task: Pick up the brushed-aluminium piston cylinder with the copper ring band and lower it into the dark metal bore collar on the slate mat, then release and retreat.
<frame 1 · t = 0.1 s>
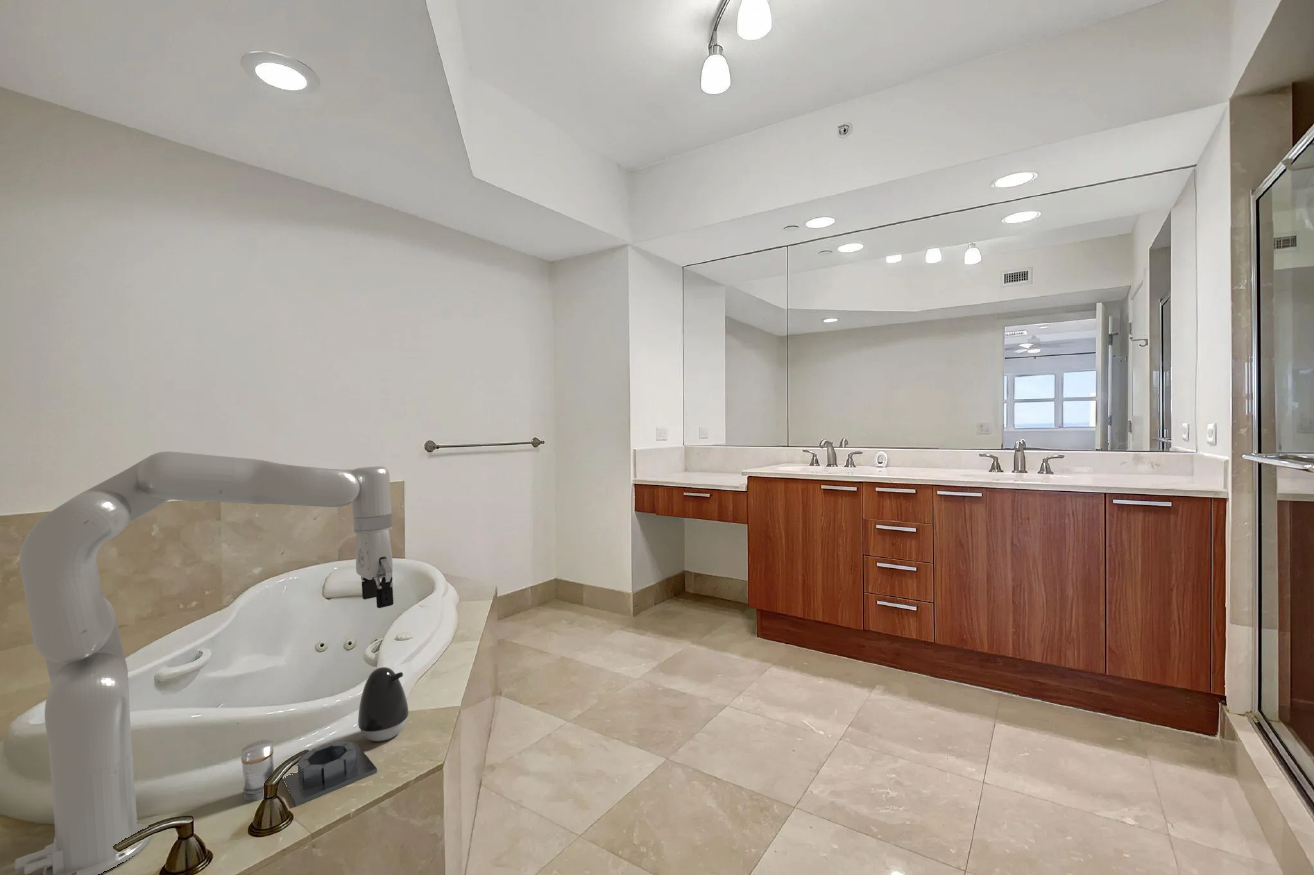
hand: (377, 602, 124), 31 cm above the worktop, fingers open, 9 cm apart
bore block: (328, 773, 115), on the worktop
pump dispenser: (385, 736, 129), on the worktop
piston: (260, 793, 109), on the worktop
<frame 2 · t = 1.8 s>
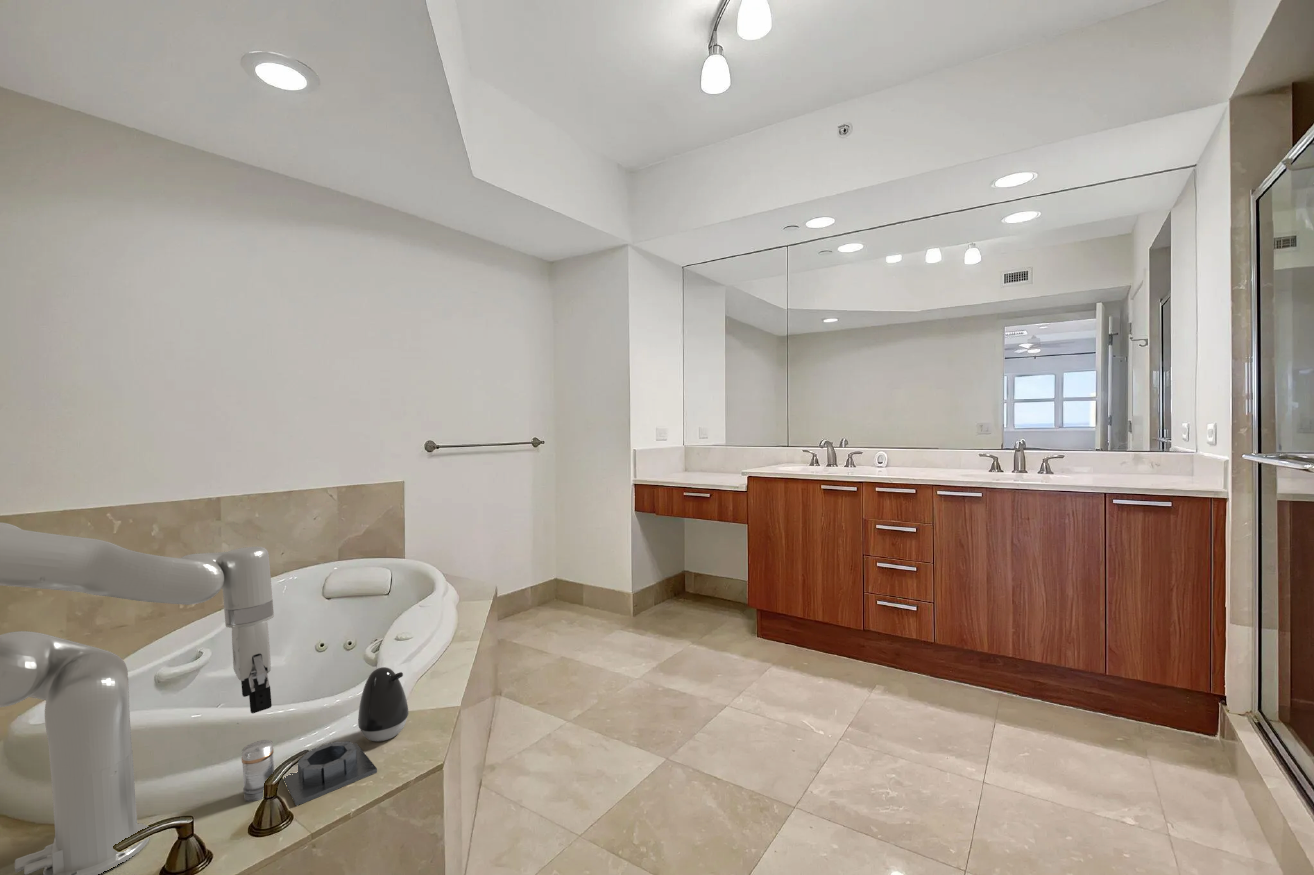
hand: (256, 701, 109), 17 cm above the worktop, fingers open, 9 cm apart
nothing on the worktop moved.
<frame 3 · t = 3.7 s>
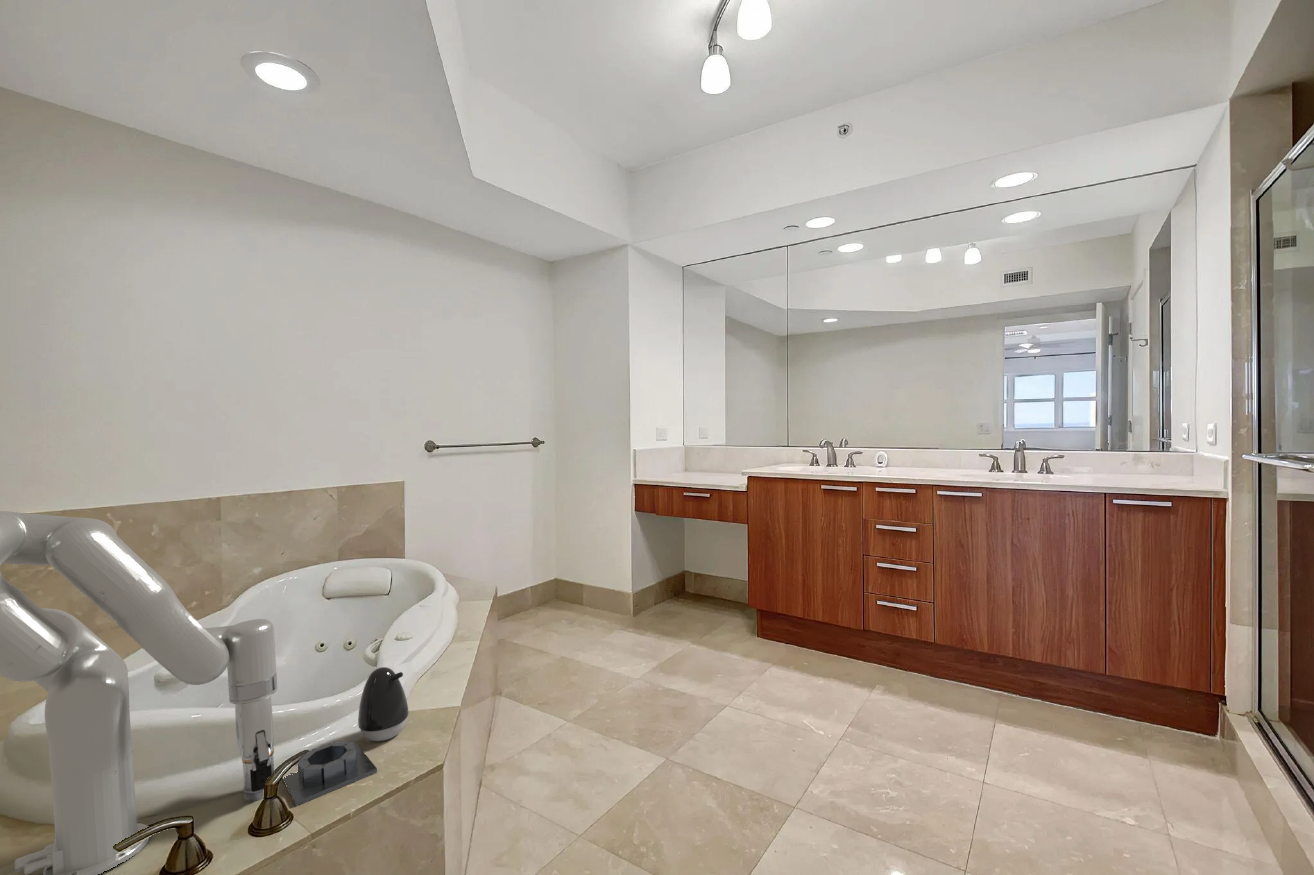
hand: (259, 780, 109), 2 cm above the worktop, fingers closed on piston, 4 cm apart
piston: (260, 793, 109), on the worktop, touching gripper
everything else where it was.
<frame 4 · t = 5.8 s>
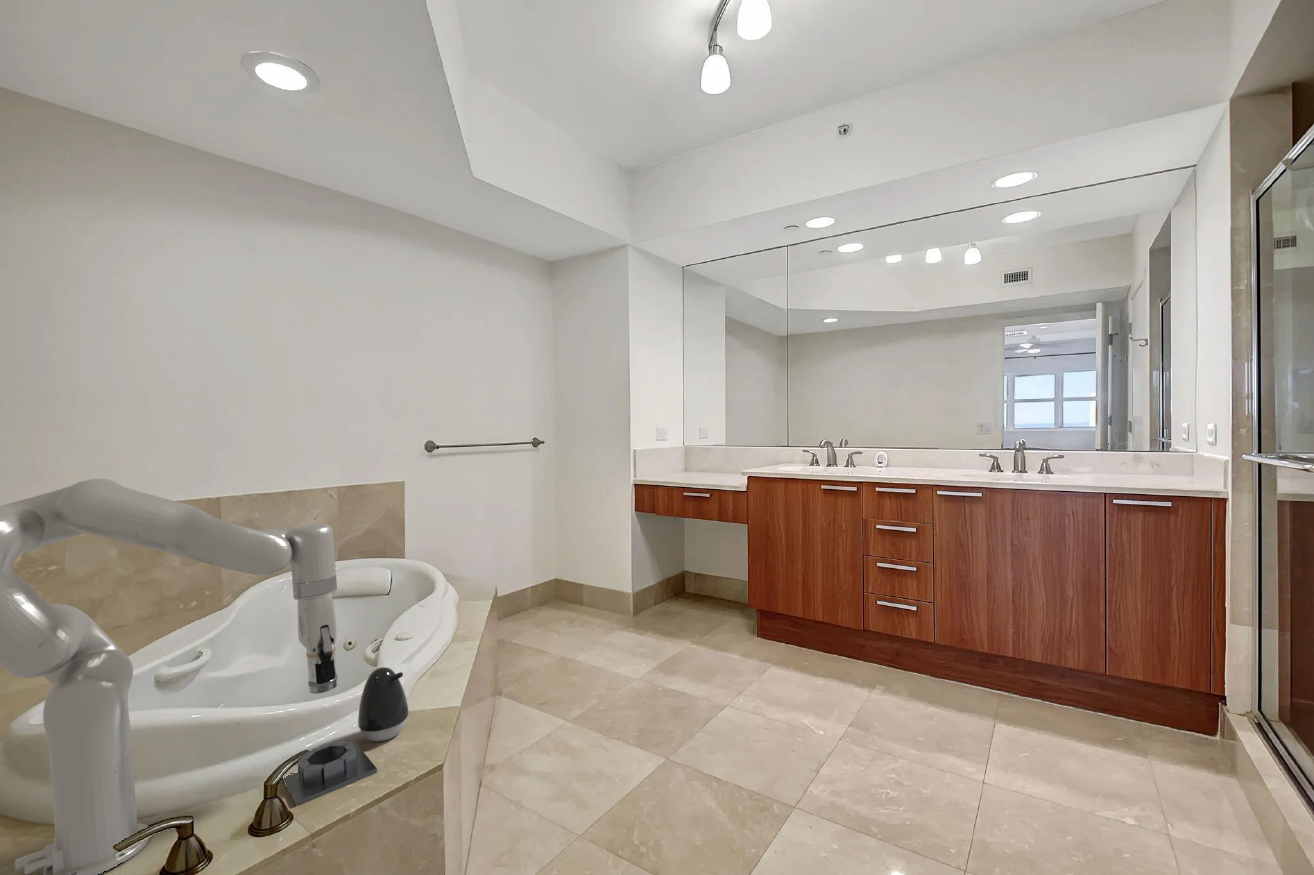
hand: (322, 676, 114), 20 cm above the worktop, fingers closed on piston, 4 cm apart
piston: (323, 687, 114), point 17 cm above the worktop, touching gripper
everything else where it was.
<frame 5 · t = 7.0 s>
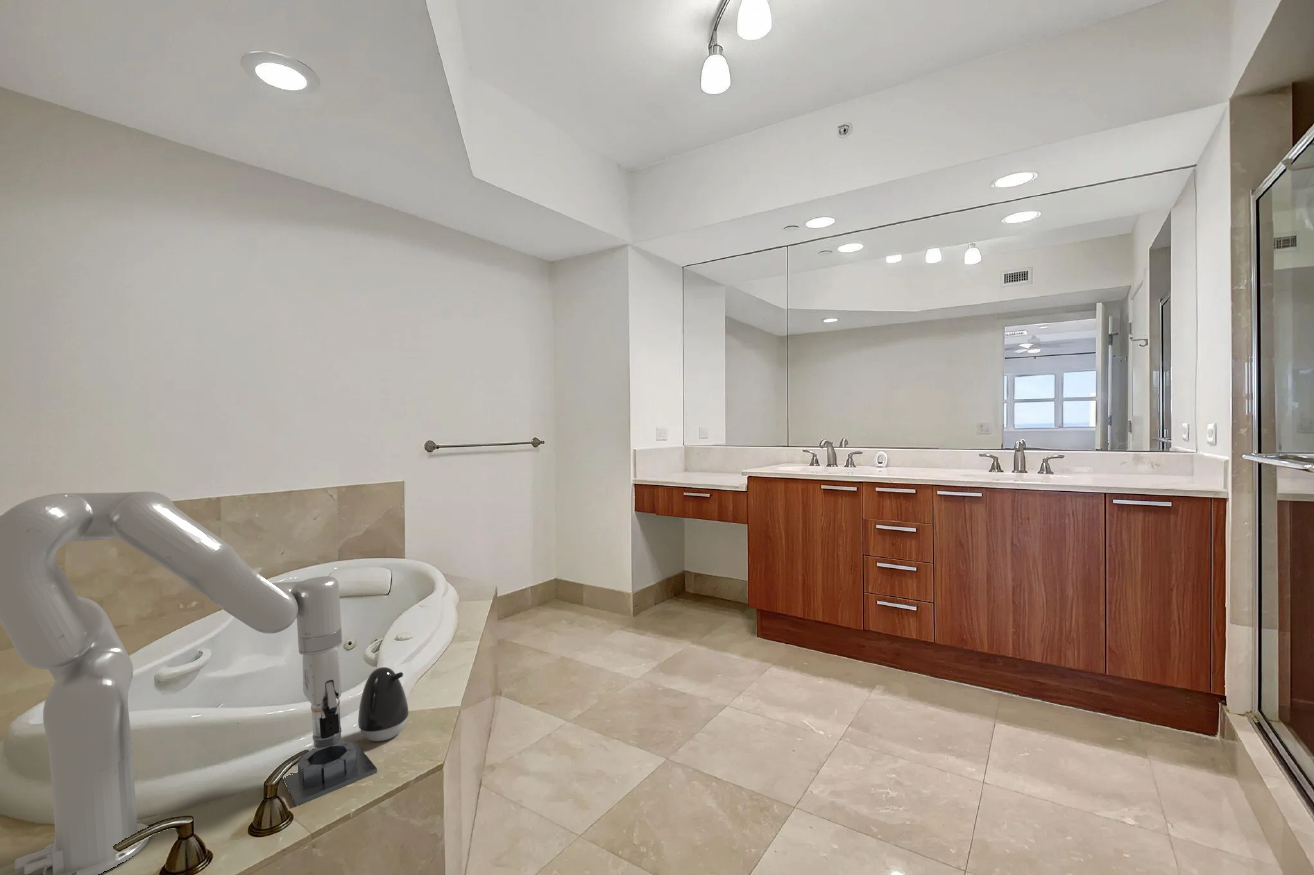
hand: (326, 729, 115), 9 cm above the worktop, fingers closed on piston, 4 cm apart
piston: (327, 741, 115), point 7 cm above the worktop, touching gripper
everything else where it was.
when the fingers open (5 cm above the worktop, at t = 8.1 s): piston drops 1 cm, resting on bore block.
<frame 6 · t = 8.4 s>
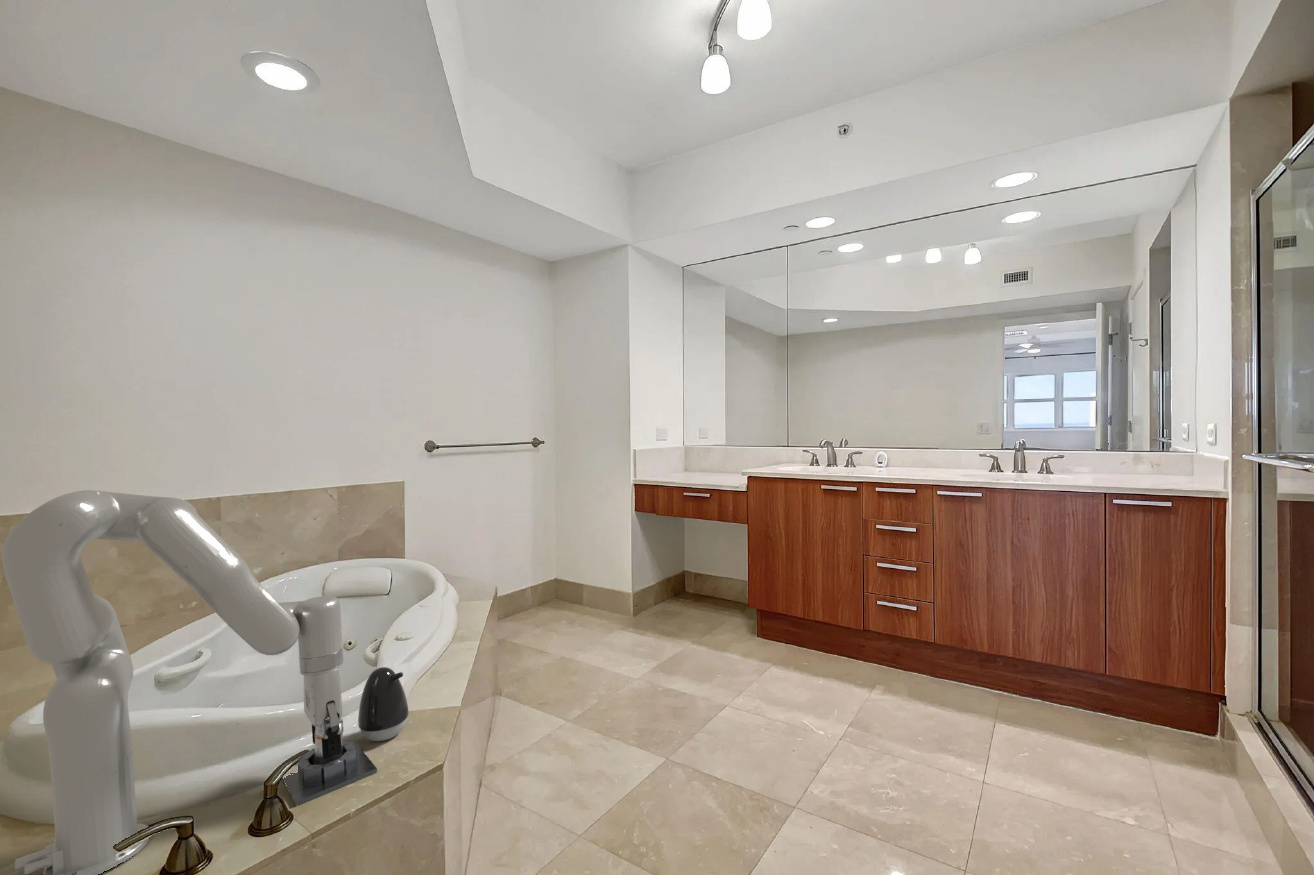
hand: (327, 747, 115), 5 cm above the worktop, fingers open, 7 cm apart
piston: (328, 768, 115), point 1 cm above the worktop, touching bore block
everything else where it was.
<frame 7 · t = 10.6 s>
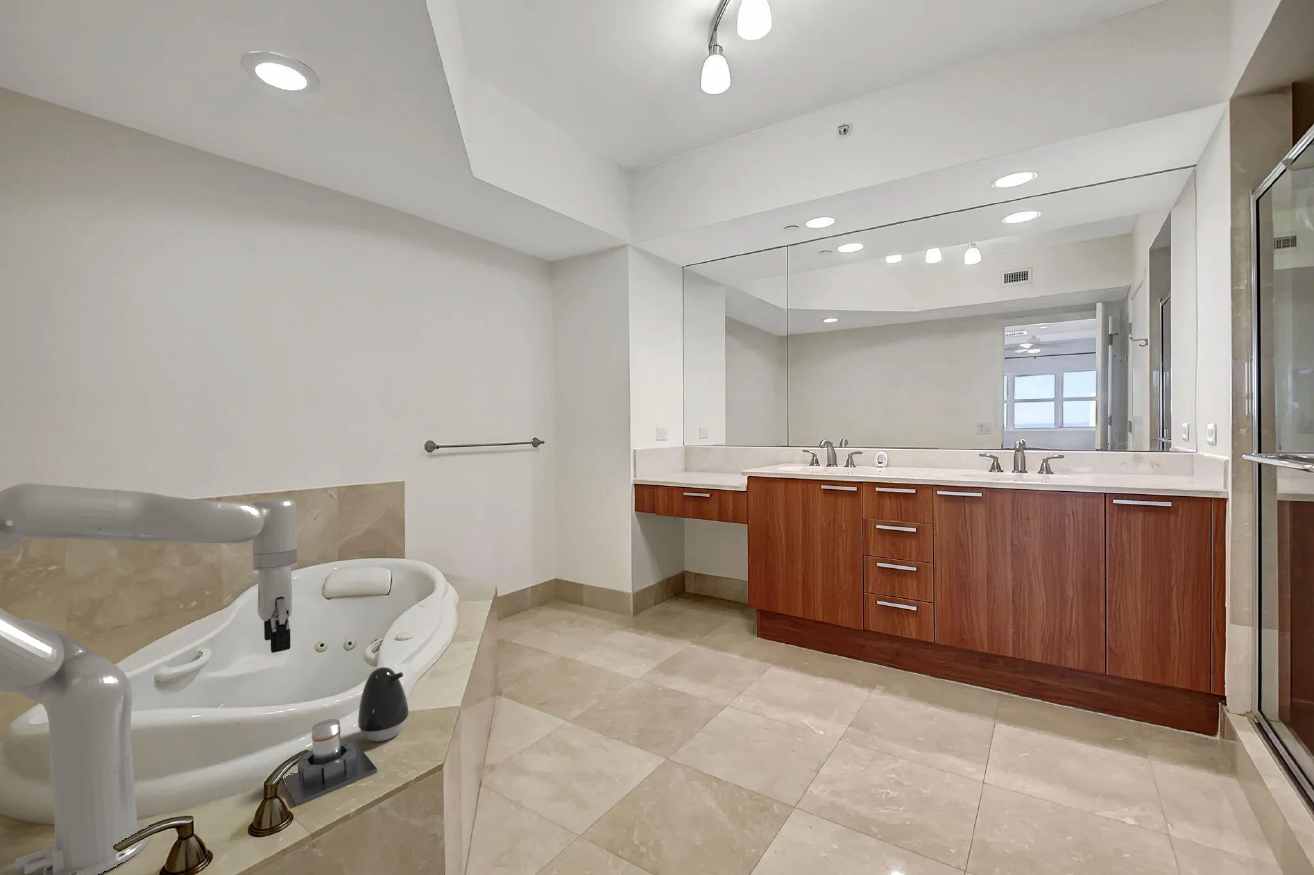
hand: (277, 644, 116), 26 cm above the worktop, fingers open, 9 cm apart
nothing on the worktop moved.
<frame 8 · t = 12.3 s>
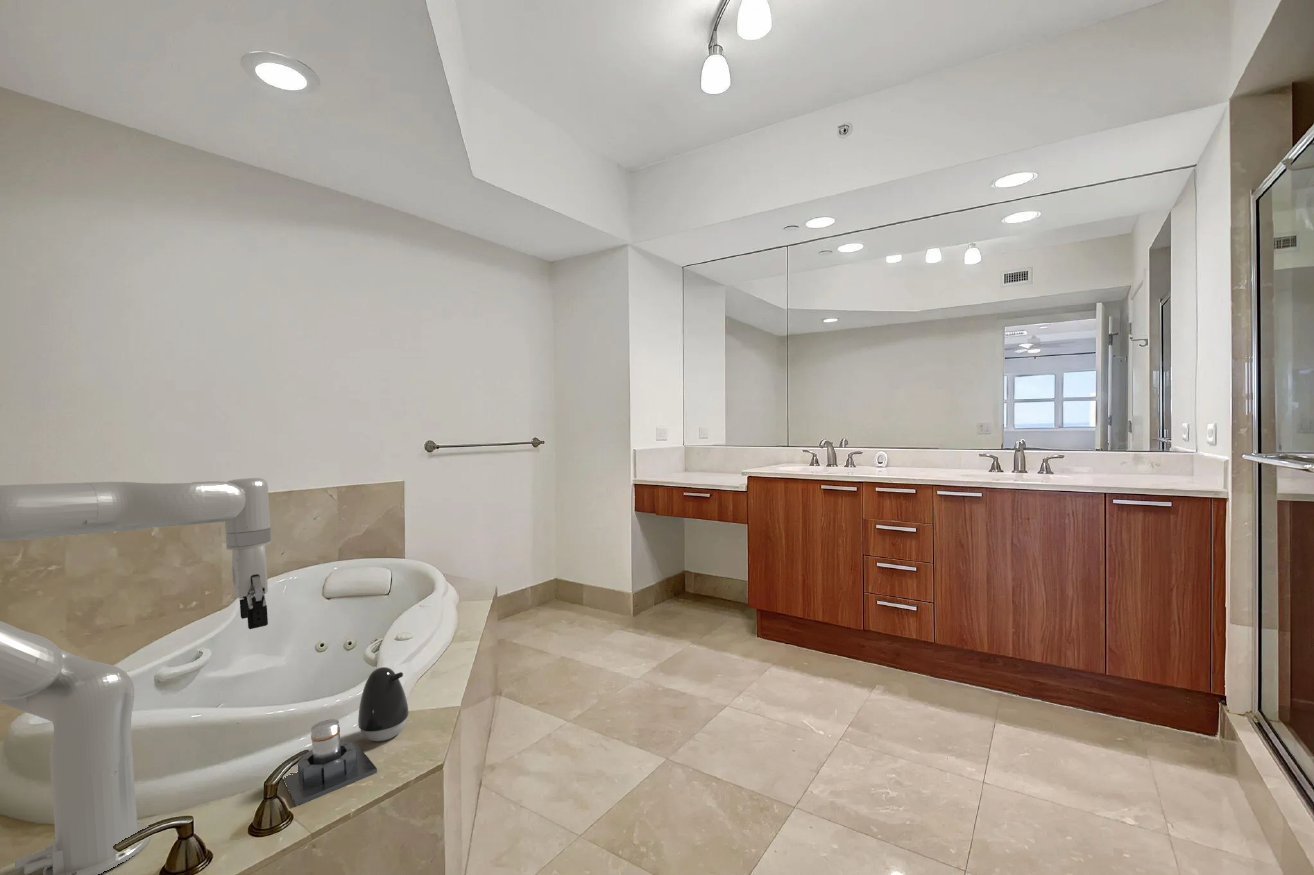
hand: (254, 621, 118), 30 cm above the worktop, fingers open, 9 cm apart
nothing on the worktop moved.
at the end: piston 0.0 cm off-centre on the bore block, point 0.8 cm above the bore block's base; piston tilted 1°; the gripper is holding nothing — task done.
